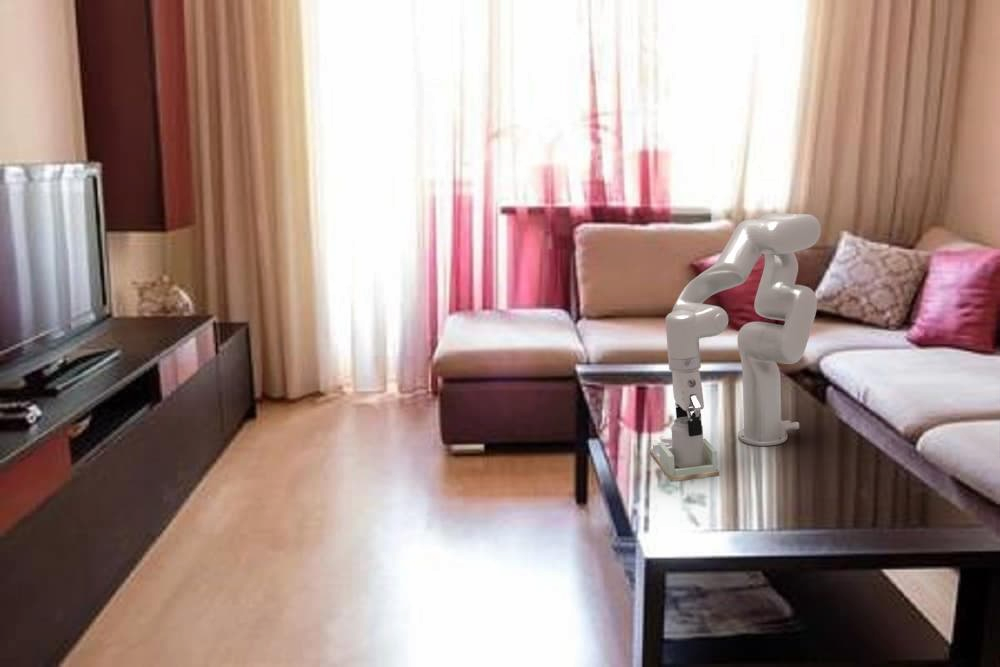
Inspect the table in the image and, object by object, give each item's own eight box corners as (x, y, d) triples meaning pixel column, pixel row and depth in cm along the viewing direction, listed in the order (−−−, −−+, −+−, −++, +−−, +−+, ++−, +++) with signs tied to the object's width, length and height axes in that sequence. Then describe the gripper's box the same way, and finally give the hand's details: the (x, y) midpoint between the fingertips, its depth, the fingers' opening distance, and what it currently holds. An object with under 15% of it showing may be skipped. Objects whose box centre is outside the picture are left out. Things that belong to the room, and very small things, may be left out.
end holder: (705, 457, 224) (705, 438, 223) (718, 471, 215) (718, 451, 214) (659, 462, 223) (658, 444, 222) (670, 477, 214) (669, 457, 213)
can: (704, 471, 215) (702, 424, 213) (673, 471, 217) (671, 425, 214) (703, 459, 222) (701, 414, 220) (673, 460, 224) (671, 415, 221)
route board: (694, 447, 234) (694, 444, 233) (719, 475, 215) (719, 471, 214) (649, 453, 233) (649, 449, 232) (671, 481, 214) (671, 477, 213)
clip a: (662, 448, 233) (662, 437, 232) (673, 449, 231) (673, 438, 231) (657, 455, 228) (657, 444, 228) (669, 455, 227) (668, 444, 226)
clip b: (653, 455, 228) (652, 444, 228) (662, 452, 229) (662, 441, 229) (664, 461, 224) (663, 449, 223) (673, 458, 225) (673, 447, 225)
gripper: (711, 369, 205) (715, 438, 210) (688, 350, 222) (693, 414, 226) (679, 374, 205) (685, 443, 209) (659, 354, 221) (664, 419, 226)
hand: (689, 428), depth 218 cm, fingers open, 9 cm apart
